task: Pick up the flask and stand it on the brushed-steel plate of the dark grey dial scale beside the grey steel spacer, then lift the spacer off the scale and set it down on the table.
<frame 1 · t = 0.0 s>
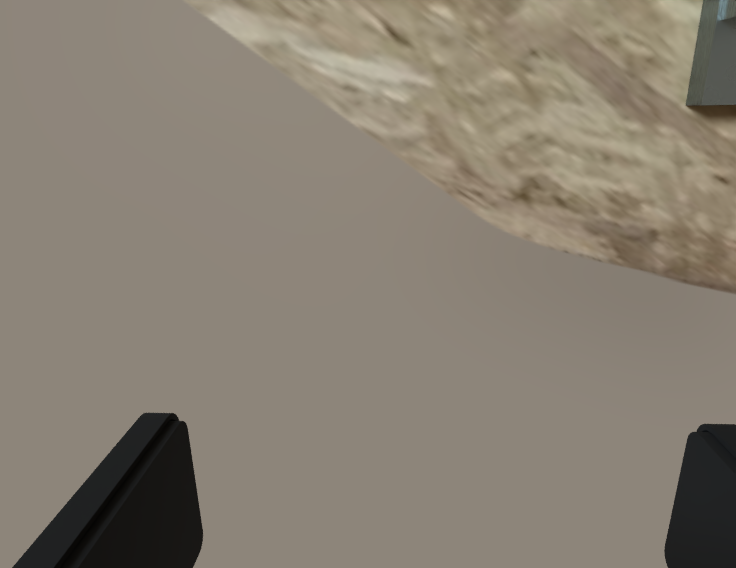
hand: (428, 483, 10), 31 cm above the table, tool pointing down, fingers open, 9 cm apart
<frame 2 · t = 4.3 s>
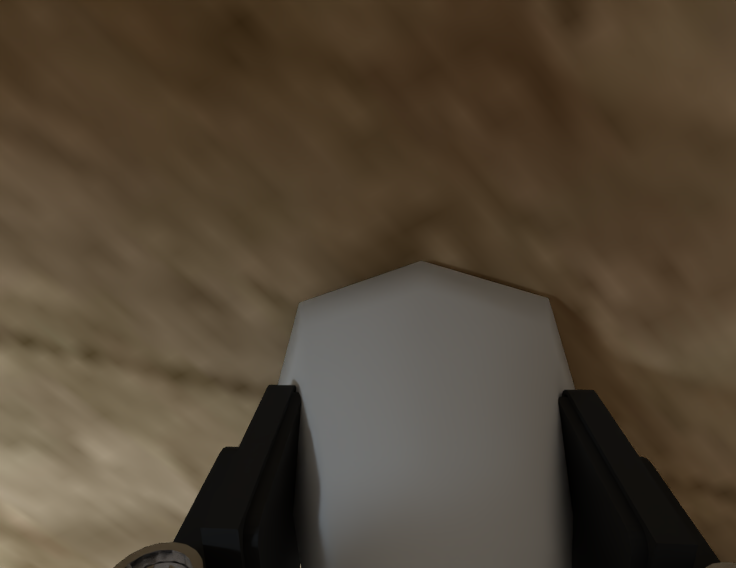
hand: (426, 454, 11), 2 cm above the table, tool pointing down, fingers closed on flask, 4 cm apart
flask: (422, 397, 13), on the table, touching gripper
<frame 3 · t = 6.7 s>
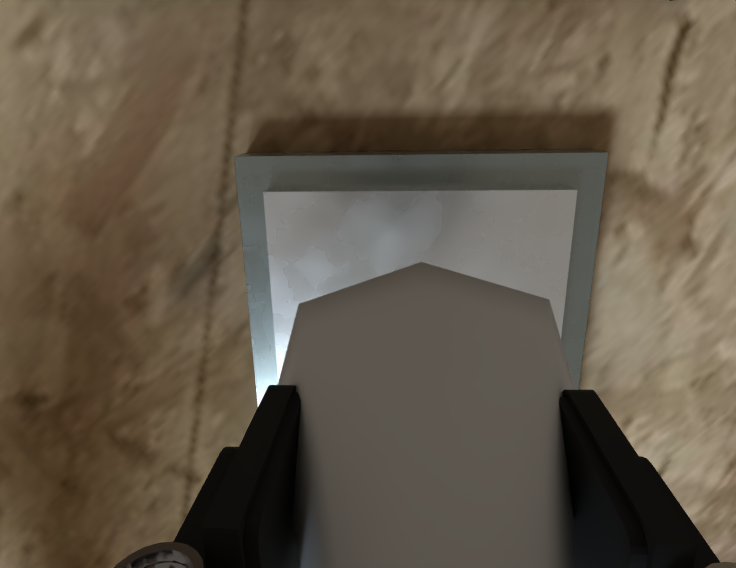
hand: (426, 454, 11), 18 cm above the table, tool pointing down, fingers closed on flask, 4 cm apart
scale: (413, 369, 30), on the table
flask: (422, 399, 13), point 15 cm above the table, touching gripper
when the fingers open (7 cm above the table, at t = 9.0 s): flask drops 2 cm, resting on scale.
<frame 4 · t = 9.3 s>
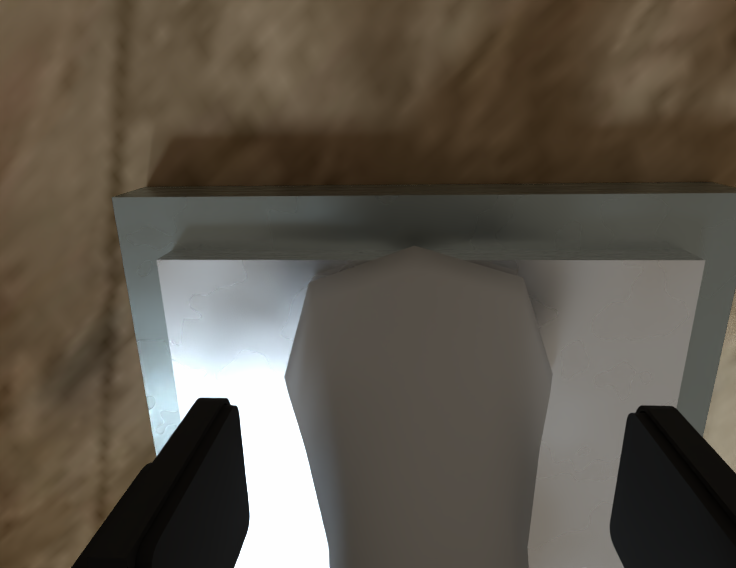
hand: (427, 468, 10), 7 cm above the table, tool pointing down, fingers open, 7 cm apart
scale: (414, 507, 20), on the table
flask: (415, 367, 15), point 3 cm above the table, touching scale
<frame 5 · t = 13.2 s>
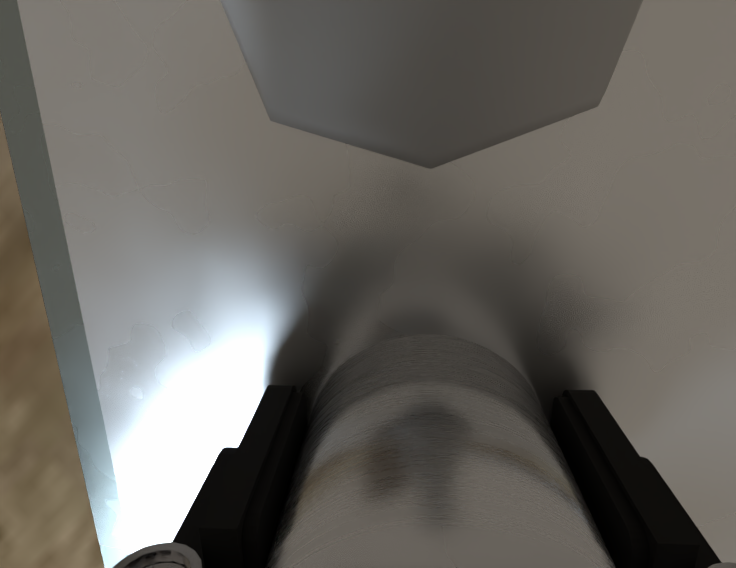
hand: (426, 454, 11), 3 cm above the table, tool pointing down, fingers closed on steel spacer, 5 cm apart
scale: (421, 303, 13), on the table
steel spacer: (425, 441, 11), point 3 cm above the table, touching gripper, scale
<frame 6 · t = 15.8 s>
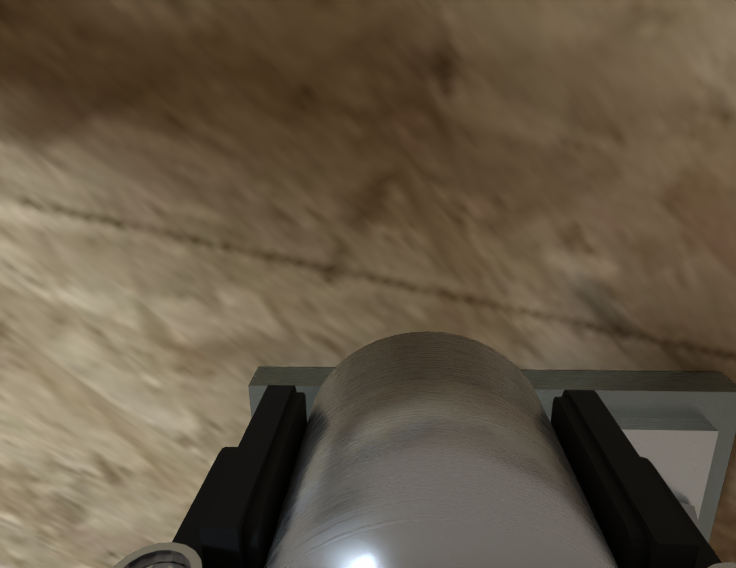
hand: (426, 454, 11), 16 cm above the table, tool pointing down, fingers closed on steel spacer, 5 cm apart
scale: (475, 501, 30), on the table
steel spacer: (425, 440, 11), point 15 cm above the table, touching gripper
when the fingers open (2 cm above the table, at t = 18.5 s): steel spacer drops 2 cm, on the table.
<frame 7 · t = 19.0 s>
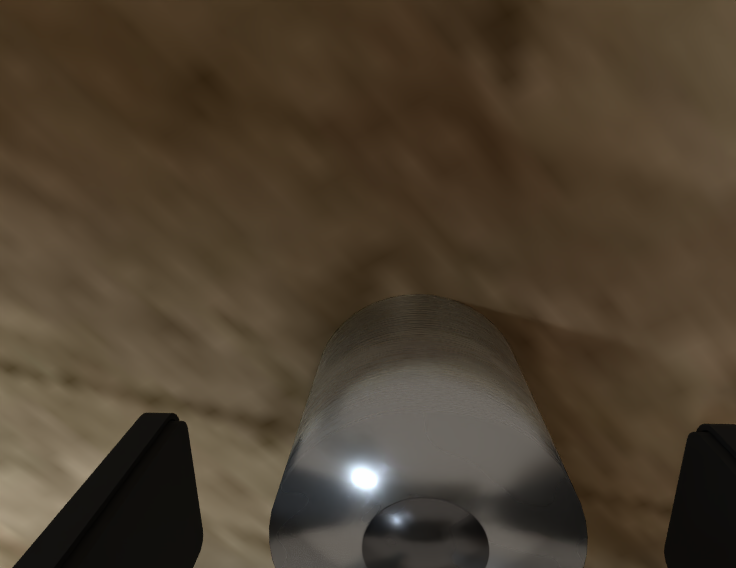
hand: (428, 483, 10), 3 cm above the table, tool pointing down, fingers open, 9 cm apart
steel spacer: (416, 388, 13), on the table
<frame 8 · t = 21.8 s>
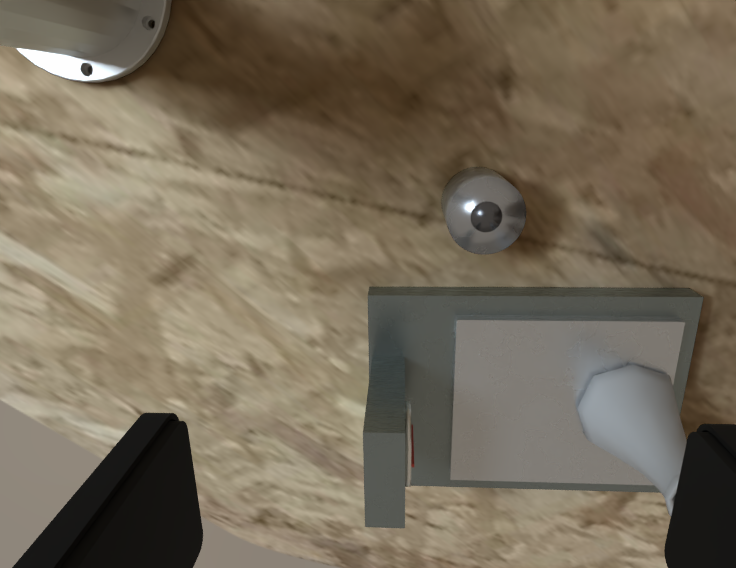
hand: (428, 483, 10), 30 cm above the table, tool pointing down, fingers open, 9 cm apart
scale: (517, 385, 43), on the table
steel spacer: (475, 201, 38), on the table
flask: (624, 404, 40), point 3 cm above the table, touching scale
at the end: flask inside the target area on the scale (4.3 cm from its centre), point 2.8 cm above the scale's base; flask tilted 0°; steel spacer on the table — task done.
